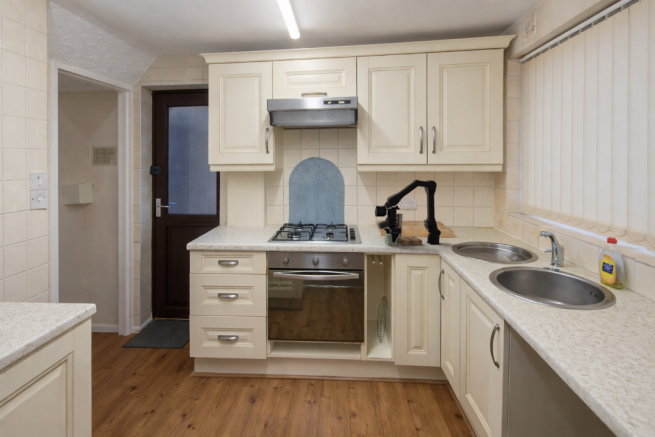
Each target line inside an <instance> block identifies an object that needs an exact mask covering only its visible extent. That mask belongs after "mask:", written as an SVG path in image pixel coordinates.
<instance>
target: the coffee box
mask: <svg viewBox="0 0 655 437" xmlns="http://www.w3.org/2000/svg"><path fill="white" fill-rule="evenodd" d="M396 218H397V220H396V225H397V227H399V228H400V229H401V233H400V234H399V235H398V237H403V213H397V217H396Z"/></svg>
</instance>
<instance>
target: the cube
mask: <svg viewBox="0 0 655 437" xmlns="http://www.w3.org/2000/svg"><path fill="white" fill-rule="evenodd" d="M384 244H385V245H387V246H397V245H398V242H397V239H396V241H395V243H393V242H392V235H391V234H386V233H385V234H384Z"/></svg>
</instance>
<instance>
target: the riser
mask: <svg viewBox="0 0 655 437" xmlns="http://www.w3.org/2000/svg"><path fill="white" fill-rule="evenodd" d="M398 243H399V244H400V245H401V244H402V246H403V247H409V246H422V245H423V239H420V238H419V237H417V236H413V235H412V236H402V237H397V244H398Z"/></svg>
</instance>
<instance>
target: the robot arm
mask: <svg viewBox="0 0 655 437" xmlns="http://www.w3.org/2000/svg"><path fill="white" fill-rule="evenodd" d="M418 187H421V188H424V192H425V194H426V211H427V212H426V213H427V214H426V219H424V220H423V222H424V225H423V227H424V228H425V230H426V231H427V232H428V234H427V236H426V237H427V238H426V243H427V244H429V245H431V246H432V245H434V246H435V245H441V243H440V237H441V234H442V231H441V230H440V229H438V224H437V223H438V222H437V220H436V216H435V213H436V212H435V211H436V210H435V195H436V191H437V187H438V185H437V182H436V181H434V180H432V179H427V180H420V179H414V180H412V182H410V183H409V184H407V185H406V186H404V188H402V189H401V190H400V191H397V193H394V194H392V195H389V196H388V197H387V199H386V202H385V203H384V204H383V205H375V207H374V208H375V209H374V216H375V218H377V217H378V218H379V217H380V218H383V217H385V220H383V221H379V222H378V223H377V225H378V229H380V230H384V231H385V234H391V235H392V242H393V243H395V241H396V239H397V237H398V235H399V234H400V233H401V229H400V228H399V227H397V225H396V220H397V218H396V217H397V211H398V210H400V211H401V208H400V207H399V206H398V204H399V203H400V202H401V201H402V199H403V198H405V197H406V196H407V195H409V194H410V193H411V192H412V191H414V190H415V189H416V188H418Z"/></svg>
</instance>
